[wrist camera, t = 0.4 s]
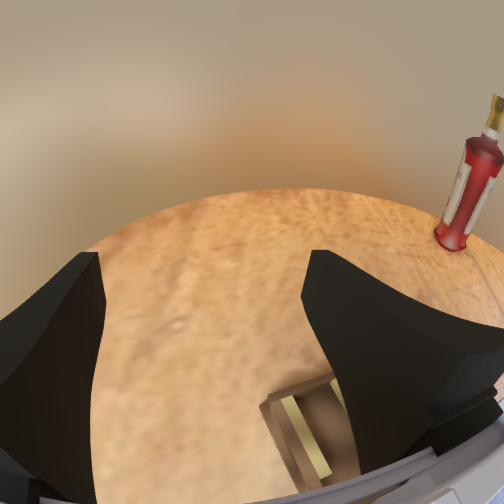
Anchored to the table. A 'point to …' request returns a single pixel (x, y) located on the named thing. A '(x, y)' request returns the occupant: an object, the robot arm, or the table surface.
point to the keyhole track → (314, 434)
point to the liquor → (472, 182)
